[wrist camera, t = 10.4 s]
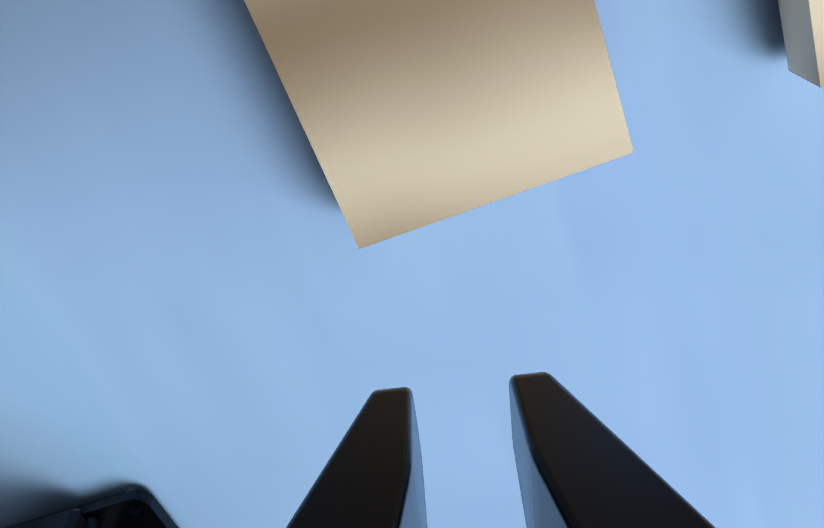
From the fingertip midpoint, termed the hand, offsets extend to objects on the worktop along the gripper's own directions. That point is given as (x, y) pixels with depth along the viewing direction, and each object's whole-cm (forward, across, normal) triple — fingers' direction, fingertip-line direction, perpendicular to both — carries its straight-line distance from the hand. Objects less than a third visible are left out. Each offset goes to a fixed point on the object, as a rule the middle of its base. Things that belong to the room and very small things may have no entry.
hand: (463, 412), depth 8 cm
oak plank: (+11, 0, -2) cm, 11 cm away
